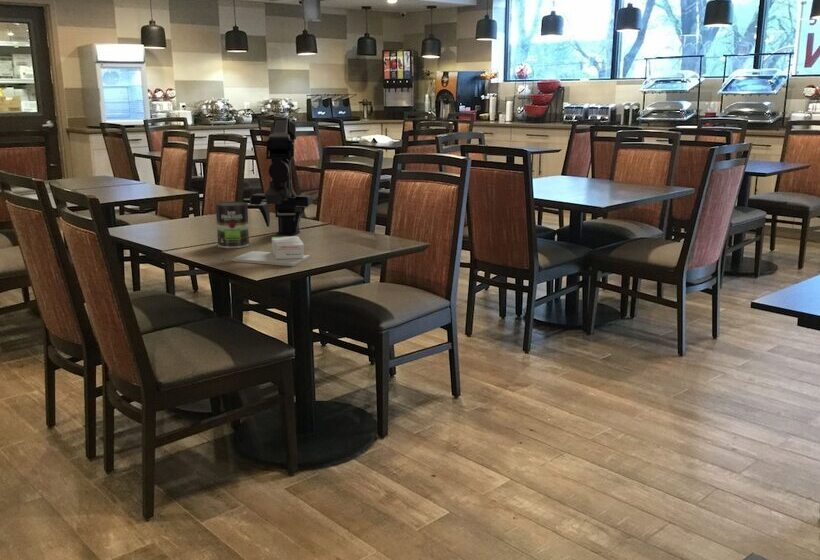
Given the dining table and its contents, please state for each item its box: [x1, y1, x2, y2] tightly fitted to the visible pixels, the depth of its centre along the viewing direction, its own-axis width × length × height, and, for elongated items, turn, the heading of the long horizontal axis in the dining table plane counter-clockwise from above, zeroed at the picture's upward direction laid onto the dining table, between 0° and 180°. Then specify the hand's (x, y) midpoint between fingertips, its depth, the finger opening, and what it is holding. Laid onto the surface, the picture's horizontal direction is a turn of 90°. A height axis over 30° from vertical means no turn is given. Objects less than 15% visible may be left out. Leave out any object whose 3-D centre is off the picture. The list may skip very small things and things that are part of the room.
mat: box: [231, 250, 311, 267], centre depth 226 cm, size 20×12×1 cm, turn 72°
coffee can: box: [215, 201, 250, 250], centre depth 245 cm, size 10×10×14 cm
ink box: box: [270, 235, 305, 259], centre depth 226 cm, size 9×5×15 cm
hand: (282, 227), depth 232 cm, fingers open, 9 cm apart
